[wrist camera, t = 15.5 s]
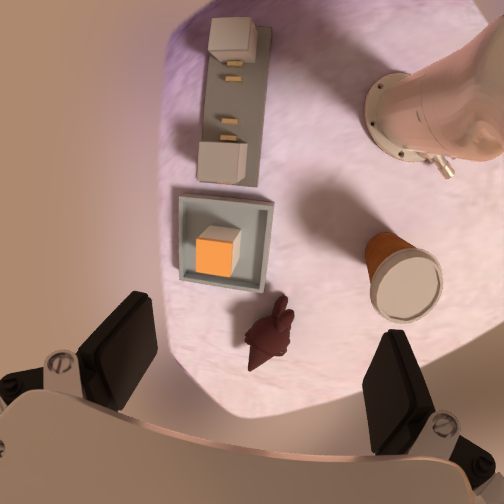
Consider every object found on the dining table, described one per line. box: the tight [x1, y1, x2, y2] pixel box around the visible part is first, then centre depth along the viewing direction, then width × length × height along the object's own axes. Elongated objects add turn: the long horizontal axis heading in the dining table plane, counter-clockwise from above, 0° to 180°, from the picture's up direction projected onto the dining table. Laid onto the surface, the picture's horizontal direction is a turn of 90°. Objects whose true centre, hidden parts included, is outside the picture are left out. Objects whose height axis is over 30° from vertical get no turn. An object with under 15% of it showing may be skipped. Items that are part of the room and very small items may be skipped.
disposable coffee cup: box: [365, 232, 443, 324], centre depth 34 cm, size 10×10×12 cm
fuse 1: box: [208, 17, 258, 63], centre depth 28 cm, size 5×5×6 cm
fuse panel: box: [200, 27, 272, 187], centre depth 33 cm, size 8×23×3 cm, turn 175°
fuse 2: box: [197, 141, 248, 184], centre depth 34 cm, size 5×5×6 cm
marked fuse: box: [196, 225, 241, 277], centre depth 39 cm, size 5×5×6 cm
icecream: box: [245, 296, 295, 372], centre depth 44 cm, size 7×7×15 cm
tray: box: [179, 193, 274, 293], centre depth 41 cm, size 13×13×2 cm
